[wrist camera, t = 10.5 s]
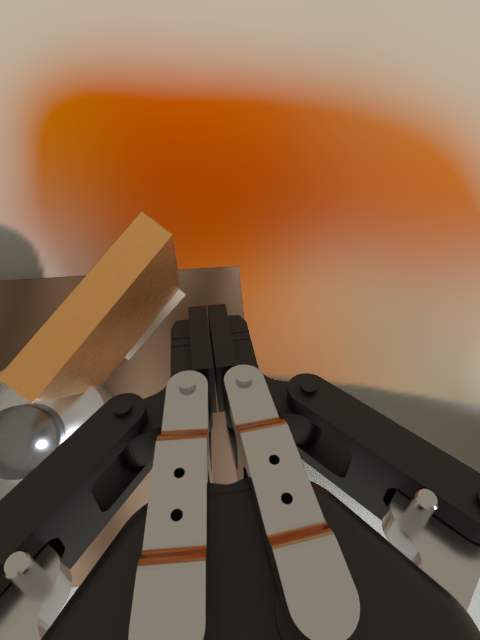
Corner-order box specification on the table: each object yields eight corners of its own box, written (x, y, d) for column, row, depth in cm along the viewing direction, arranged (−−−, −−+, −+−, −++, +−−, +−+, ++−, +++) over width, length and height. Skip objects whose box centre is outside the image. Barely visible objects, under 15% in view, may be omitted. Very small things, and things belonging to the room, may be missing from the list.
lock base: (235, 273, 29) (239, 265, 27) (262, 540, 27) (268, 555, 25) (-39, 290, 27) (-61, 283, 24) (-38, 590, 24) (-62, 613, 22)
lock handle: (65, 516, 23) (-45, 642, 13) (-38, 441, 23) (-239, 503, 12) (216, 317, 26) (233, 281, 15) (126, 250, 26) (79, 164, 15)
